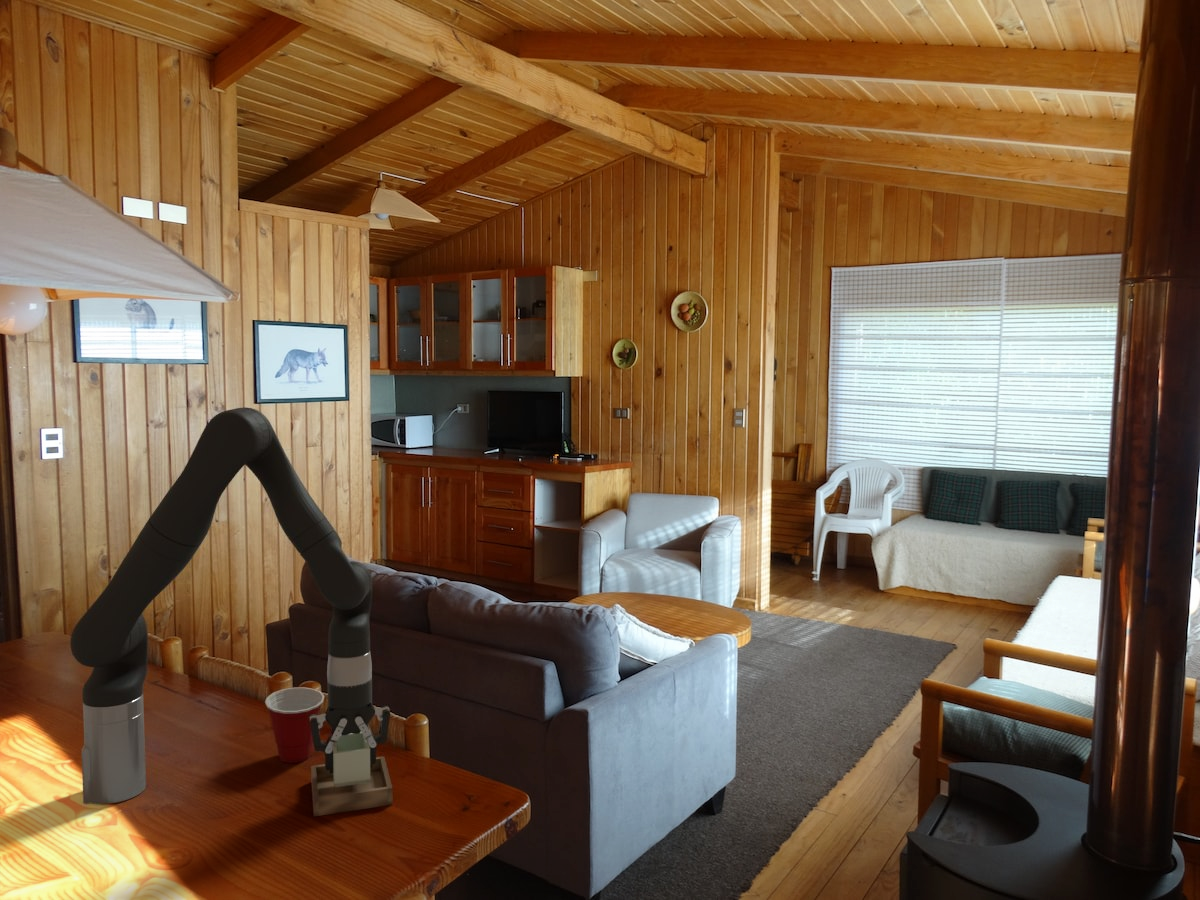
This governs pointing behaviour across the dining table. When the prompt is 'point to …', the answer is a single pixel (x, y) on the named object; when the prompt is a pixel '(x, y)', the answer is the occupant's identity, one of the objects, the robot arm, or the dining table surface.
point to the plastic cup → (293, 721)
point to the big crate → (350, 790)
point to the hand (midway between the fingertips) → (350, 768)
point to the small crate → (351, 760)
